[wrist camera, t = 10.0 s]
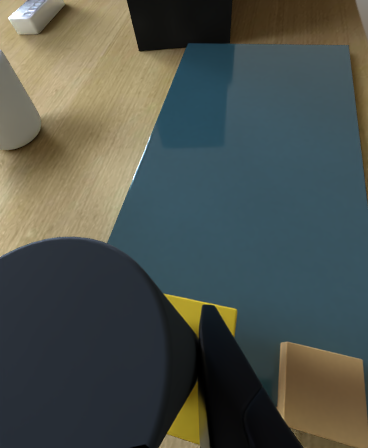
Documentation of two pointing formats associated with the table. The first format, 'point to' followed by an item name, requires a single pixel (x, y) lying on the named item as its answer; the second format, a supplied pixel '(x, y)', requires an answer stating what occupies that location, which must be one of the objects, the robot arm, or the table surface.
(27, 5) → the multiport hub
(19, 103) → the cup
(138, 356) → the sponge wand
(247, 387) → the robot arm
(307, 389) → the tan square block
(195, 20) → the speaker
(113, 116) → the table surface
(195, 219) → the plate
